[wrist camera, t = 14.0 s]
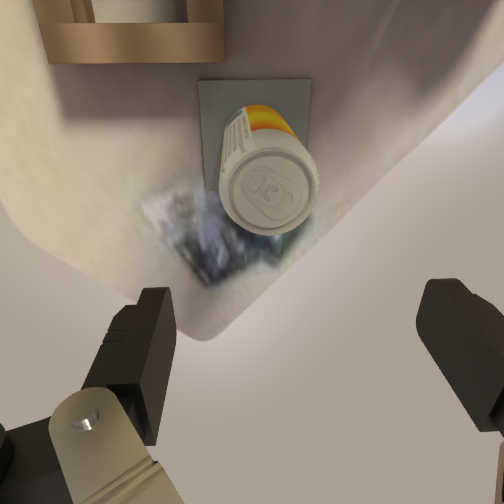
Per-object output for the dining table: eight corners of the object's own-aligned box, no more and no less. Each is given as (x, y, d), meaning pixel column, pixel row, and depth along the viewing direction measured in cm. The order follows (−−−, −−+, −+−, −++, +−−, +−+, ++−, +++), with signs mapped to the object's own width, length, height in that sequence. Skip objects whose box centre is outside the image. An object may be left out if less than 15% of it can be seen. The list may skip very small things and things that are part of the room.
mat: (310, 78, 31) (312, 79, 31) (303, 186, 36) (304, 188, 36) (198, 80, 31) (197, 80, 31) (206, 188, 36) (205, 190, 36)
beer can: (261, 181, 35) (277, 258, 22) (211, 144, 33) (197, 205, 20) (301, 131, 33) (345, 184, 20) (250, 88, 31) (262, 116, 18)
